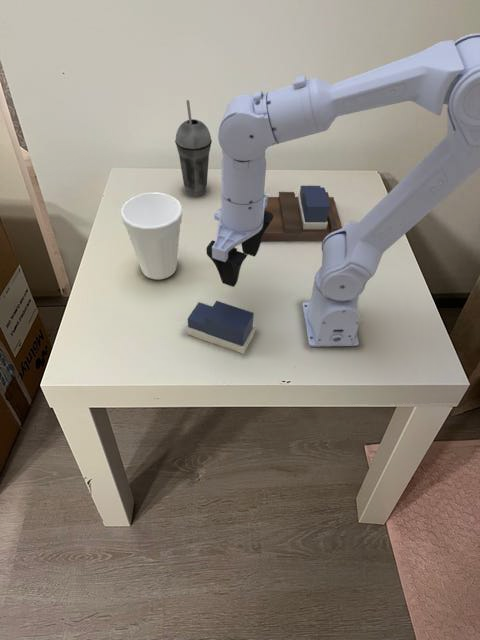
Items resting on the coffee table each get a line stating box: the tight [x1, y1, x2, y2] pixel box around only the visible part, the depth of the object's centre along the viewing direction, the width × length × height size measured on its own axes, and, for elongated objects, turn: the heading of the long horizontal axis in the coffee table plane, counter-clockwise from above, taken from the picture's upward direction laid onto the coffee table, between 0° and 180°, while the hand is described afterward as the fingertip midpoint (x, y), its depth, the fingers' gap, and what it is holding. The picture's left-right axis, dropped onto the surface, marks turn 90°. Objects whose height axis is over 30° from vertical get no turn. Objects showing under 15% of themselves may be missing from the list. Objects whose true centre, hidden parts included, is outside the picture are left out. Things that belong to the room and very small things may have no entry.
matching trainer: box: [297, 185, 330, 229], centre depth 96 cm, size 10×5×5 cm, turn 2°
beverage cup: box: [174, 99, 213, 198], centre depth 98 cm, size 7×7×20 cm
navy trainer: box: [185, 300, 256, 355], centre depth 77 cm, size 10×5×5 cm, turn 67°
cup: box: [120, 191, 183, 280], centre depth 83 cm, size 10×10×13 cm
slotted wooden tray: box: [261, 191, 343, 242], centre depth 97 cm, size 12×20×3 cm, turn 92°
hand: (239, 268), depth 75 cm, fingers open, 7 cm apart
